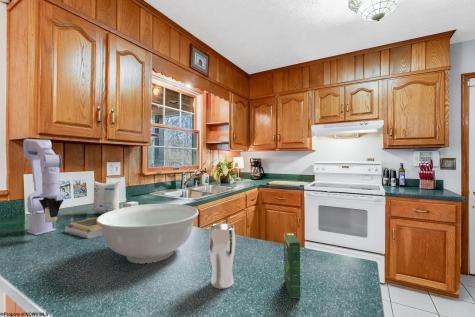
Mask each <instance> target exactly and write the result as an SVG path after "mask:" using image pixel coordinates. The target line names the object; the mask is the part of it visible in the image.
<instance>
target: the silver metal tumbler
mask: <svg viewBox="0 0 475 317" xmlns="http://www.w3.org/2000/svg"><path fill="white" fill-rule="evenodd" d="M208 249H209V256H210V261H211V270H212V271H211V272H212V273H211V279H210V285H211V287H213V288H216V289H219V290H222V289H223V290H225V289H228V288H230V287H232V286H233V285H234V282H235V280H234V275H233V266H234V265H233V262H234V258H235V251H236V234H235V225H234V224H232V223H225V222H223V223H222V222H220V223H219V222H217V223H214V224H211V225H209V235H208Z"/></svg>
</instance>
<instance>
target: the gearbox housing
mask: <svg viewBox="0 0 475 317" xmlns="http://www.w3.org/2000/svg"><path fill="white" fill-rule="evenodd" d="M98 217H99V216H98ZM98 217H94V218H93V217H92V218H88V219H84V220H83V219H82V220H80V221H74V222H70V224H68V225H66V226H65V227H64V230H65V234H70V235H74V236H77V237H81V238H84V239H91V238H95V237H98V236H101V235H103V231H102V228H101V227H100V226H99V225H98V224H97V222H96V221H97V218H98Z"/></svg>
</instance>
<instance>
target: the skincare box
mask: <svg viewBox="0 0 475 317" xmlns="http://www.w3.org/2000/svg"><path fill="white" fill-rule="evenodd" d="M122 205H123V207H122V208H125V207H130V206H137V205H139V201H128V202H127V201H126V202H124V203H123V204H122Z"/></svg>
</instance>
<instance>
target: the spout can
mask: <svg viewBox="0 0 475 317" xmlns="http://www.w3.org/2000/svg"><path fill="white" fill-rule="evenodd" d="M57 221H58V216H57V217H52V218H51V217H50V212H49V207H46V208H45V222H52V223H54V222H57Z"/></svg>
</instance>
